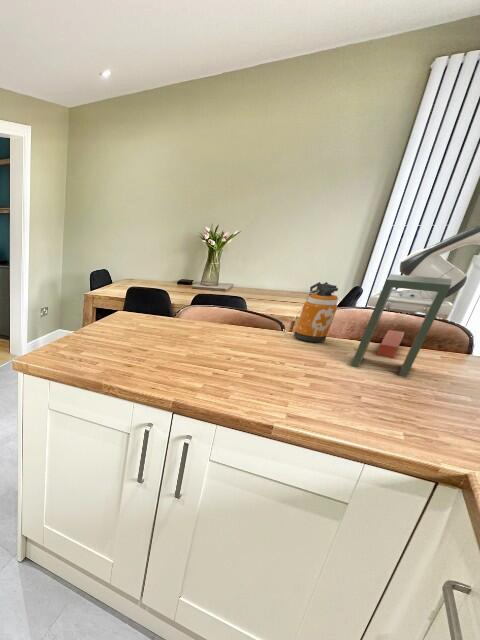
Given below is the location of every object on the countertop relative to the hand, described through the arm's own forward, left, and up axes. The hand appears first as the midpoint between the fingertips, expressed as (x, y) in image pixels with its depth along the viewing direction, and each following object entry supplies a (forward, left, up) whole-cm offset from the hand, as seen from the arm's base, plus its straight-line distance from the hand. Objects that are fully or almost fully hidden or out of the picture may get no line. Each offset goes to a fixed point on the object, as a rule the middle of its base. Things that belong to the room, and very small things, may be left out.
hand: (406, 308), depth 135 cm
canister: (+25, +8, -12) cm, 29 cm away
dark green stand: (+11, +31, -12) cm, 35 cm away
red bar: (+3, +9, -12) cm, 15 cm away
